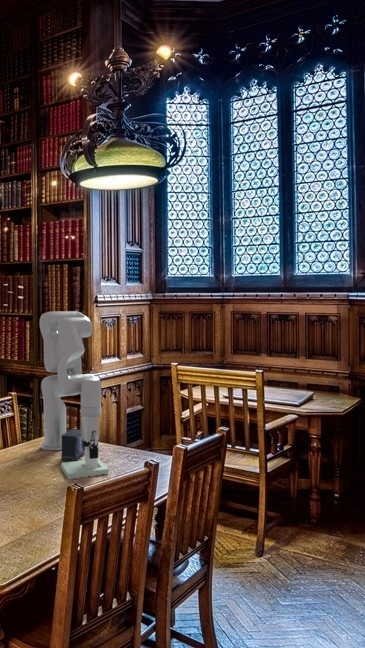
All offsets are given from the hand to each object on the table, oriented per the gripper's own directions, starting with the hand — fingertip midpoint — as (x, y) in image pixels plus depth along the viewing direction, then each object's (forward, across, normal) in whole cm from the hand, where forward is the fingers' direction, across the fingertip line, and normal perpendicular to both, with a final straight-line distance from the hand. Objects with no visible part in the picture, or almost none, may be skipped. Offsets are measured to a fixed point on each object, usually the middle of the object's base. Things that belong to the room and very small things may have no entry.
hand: (90, 454), depth 212 cm
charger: (+6, +1, 0) cm, 6 cm away
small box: (+7, -19, -2) cm, 21 cm away
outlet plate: (+6, 0, -2) cm, 7 cm away
